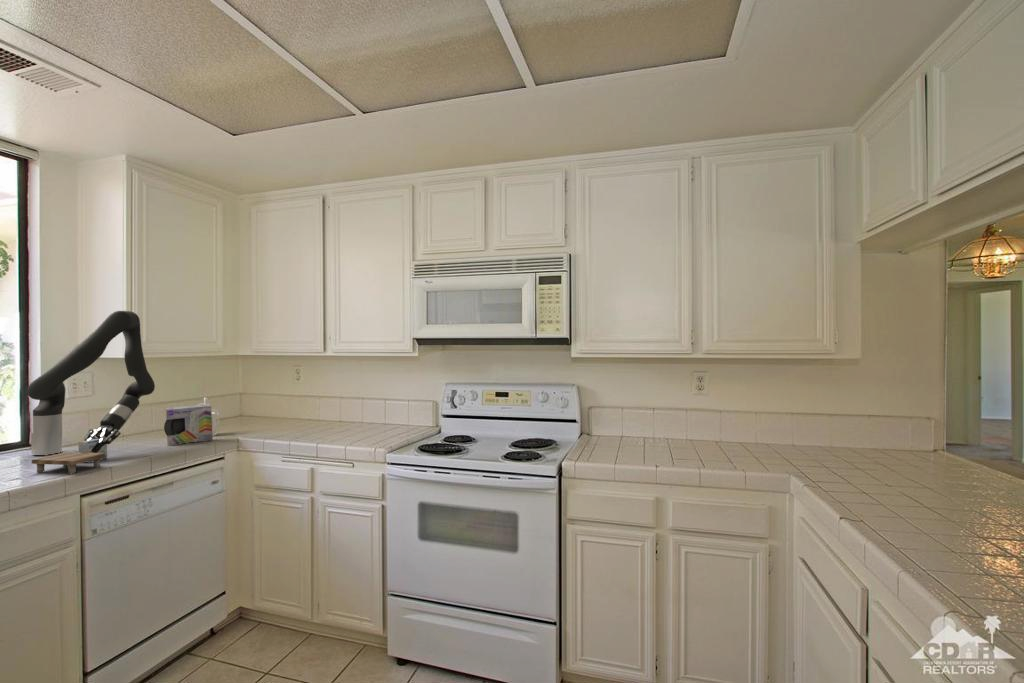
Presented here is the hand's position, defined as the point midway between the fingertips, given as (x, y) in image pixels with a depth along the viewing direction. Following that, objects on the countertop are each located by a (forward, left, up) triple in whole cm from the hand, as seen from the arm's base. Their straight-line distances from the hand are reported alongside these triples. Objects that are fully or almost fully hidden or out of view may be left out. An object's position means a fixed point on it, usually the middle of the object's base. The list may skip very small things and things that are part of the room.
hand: (88, 451), depth 192 cm
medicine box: (0, +2, -4) cm, 5 cm away
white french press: (+6, +55, -4) cm, 55 cm away
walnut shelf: (+5, -11, -4) cm, 13 cm away
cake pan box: (+11, +38, -4) cm, 40 cm away
